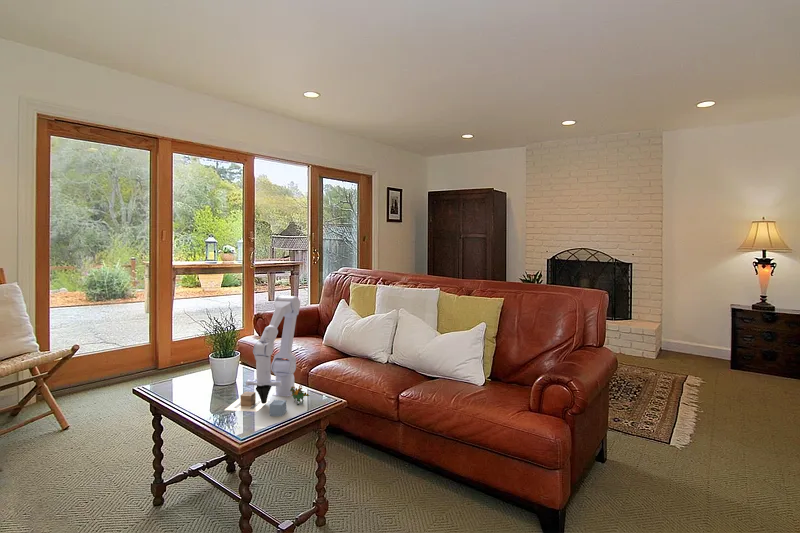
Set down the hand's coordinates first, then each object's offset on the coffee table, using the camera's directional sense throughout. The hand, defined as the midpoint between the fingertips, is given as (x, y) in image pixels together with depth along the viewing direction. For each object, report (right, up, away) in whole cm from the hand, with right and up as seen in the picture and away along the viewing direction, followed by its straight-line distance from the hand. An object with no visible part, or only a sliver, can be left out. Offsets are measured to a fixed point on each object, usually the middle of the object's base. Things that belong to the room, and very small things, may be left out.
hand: (264, 402), depth 185 cm
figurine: (+14, -2, +3) cm, 15 cm away
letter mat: (-7, -1, +1) cm, 7 cm away
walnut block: (-7, -1, +1) cm, 7 cm away
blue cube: (+8, -2, -9) cm, 12 cm away
